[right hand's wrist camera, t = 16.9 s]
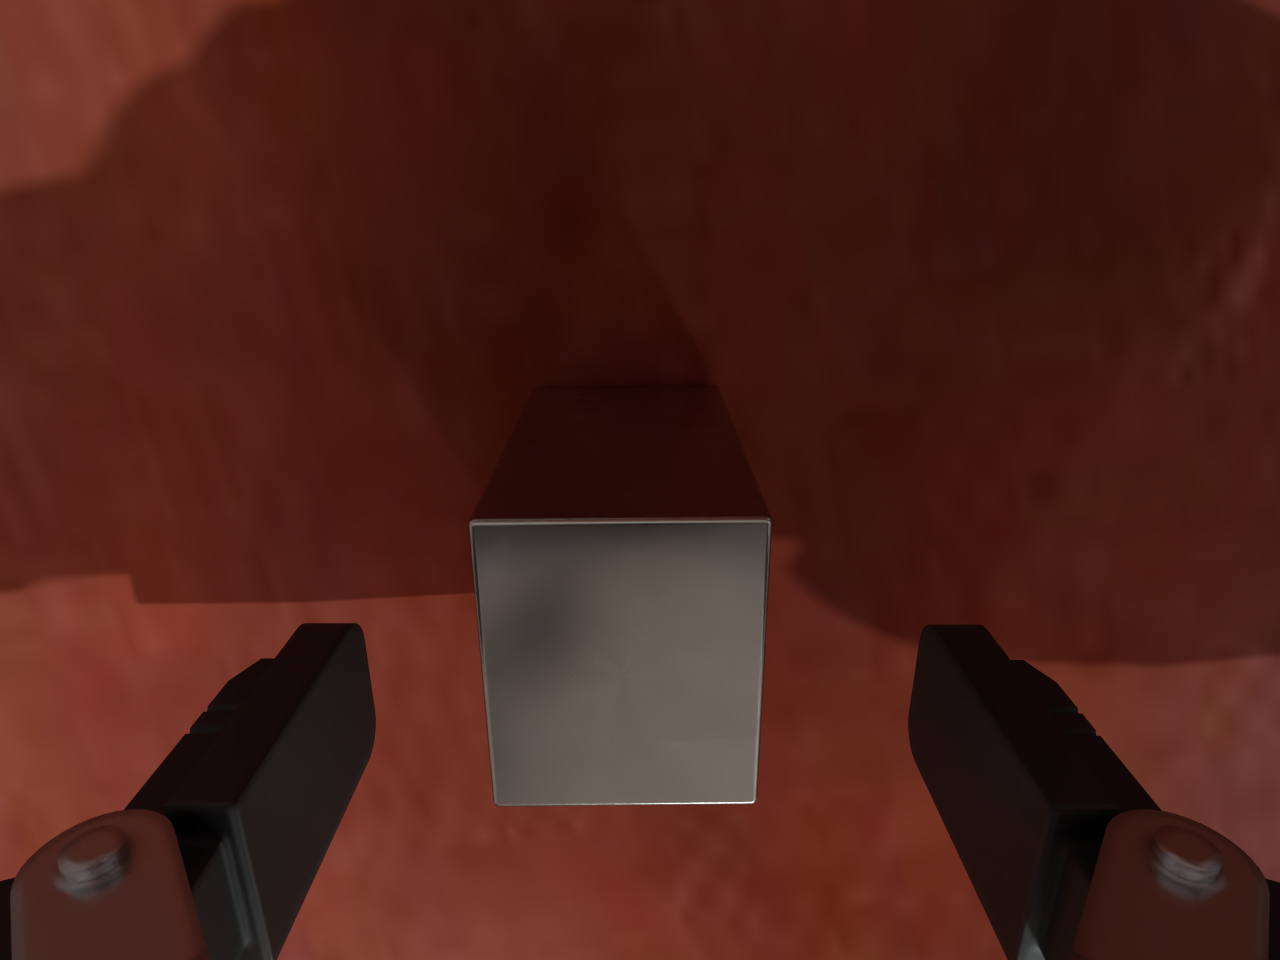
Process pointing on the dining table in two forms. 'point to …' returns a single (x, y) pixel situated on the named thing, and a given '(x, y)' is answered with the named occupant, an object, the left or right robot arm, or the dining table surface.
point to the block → (622, 601)
